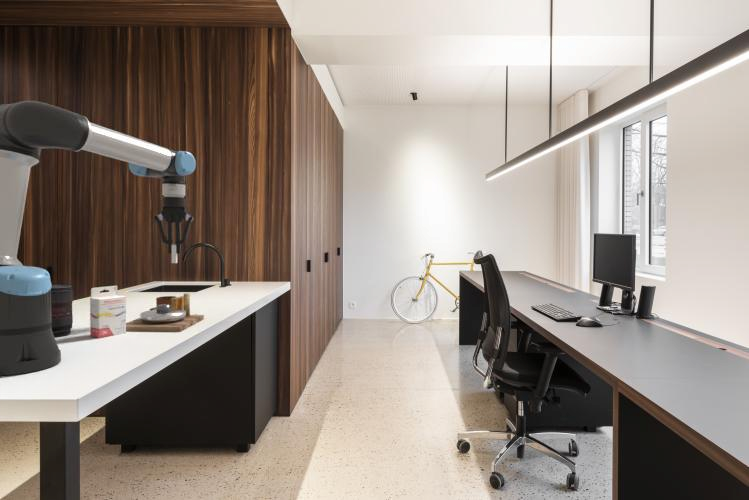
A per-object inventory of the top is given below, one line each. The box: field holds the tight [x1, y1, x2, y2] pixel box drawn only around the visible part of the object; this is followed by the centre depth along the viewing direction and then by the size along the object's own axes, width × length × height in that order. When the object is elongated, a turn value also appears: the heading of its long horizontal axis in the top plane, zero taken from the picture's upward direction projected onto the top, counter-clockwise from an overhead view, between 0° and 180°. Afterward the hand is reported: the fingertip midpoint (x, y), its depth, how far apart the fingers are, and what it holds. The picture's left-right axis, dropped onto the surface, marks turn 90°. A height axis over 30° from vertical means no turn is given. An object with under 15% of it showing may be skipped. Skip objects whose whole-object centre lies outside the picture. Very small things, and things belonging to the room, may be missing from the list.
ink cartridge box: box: [89, 285, 127, 339], centre depth 140 cm, size 9×5×15 cm, turn 150°
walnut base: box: [126, 292, 205, 333], centre depth 155 cm, size 20×20×10 cm
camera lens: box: [51, 284, 74, 338], centre depth 139 cm, size 8×8×15 cm
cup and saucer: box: [149, 295, 184, 311], centre depth 176 cm, size 12×12×6 cm
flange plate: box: [140, 295, 186, 322], centre depth 157 cm, size 18×14×6 cm
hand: (174, 262), depth 163 cm, fingers closed
